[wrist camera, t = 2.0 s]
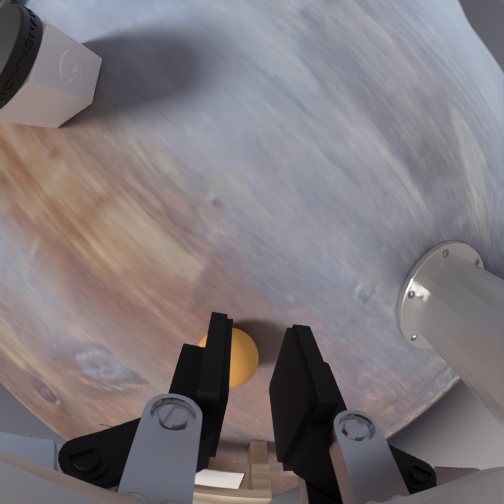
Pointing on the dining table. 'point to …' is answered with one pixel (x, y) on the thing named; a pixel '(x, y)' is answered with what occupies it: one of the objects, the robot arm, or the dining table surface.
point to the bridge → (259, 488)
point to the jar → (42, 71)
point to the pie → (4, 2)
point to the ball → (240, 357)
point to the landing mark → (219, 478)
